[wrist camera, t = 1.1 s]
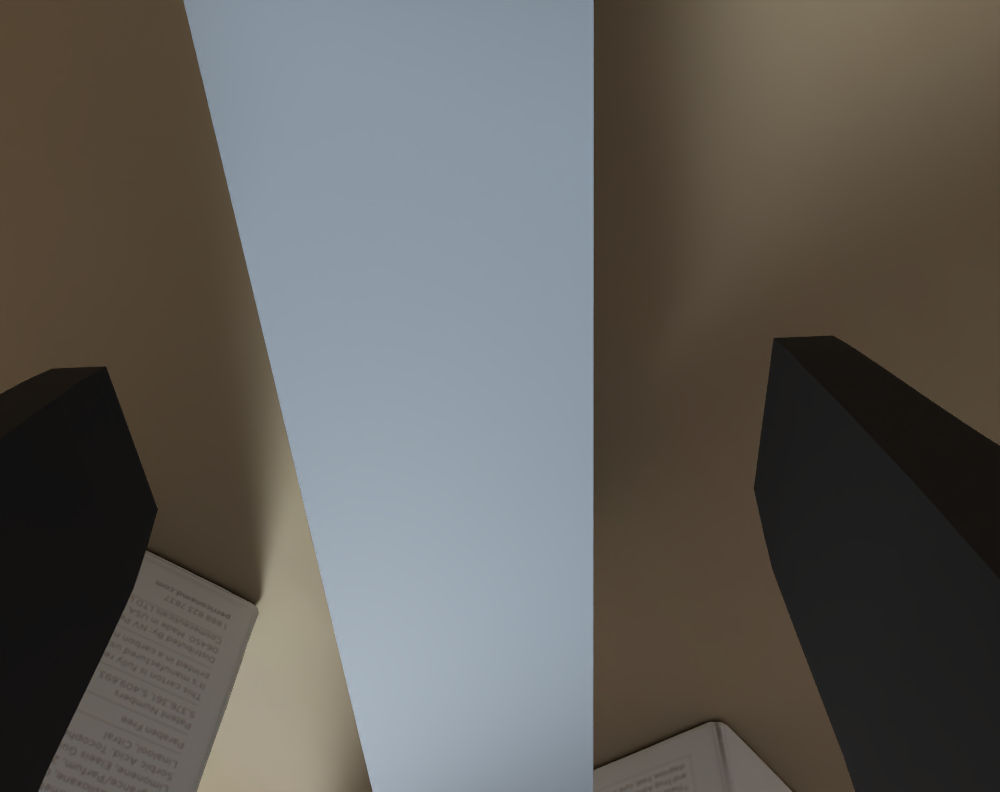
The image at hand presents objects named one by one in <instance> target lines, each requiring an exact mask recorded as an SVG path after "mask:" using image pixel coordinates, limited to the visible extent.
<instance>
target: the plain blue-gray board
mask: <svg viewBox="0 0 1000 792" xmlns="http://www.w3.org/2000/svg"><path fill="white" fill-rule="evenodd" d="M183 1H184V5H185V9H186V14H187V18H188V22H189V26H190V30H191V34H192V39H193V43H194V47H195V51H196V55H197V60H198V64H199V68H200V72H201V76H202V80H203V85H204V89H205V93H206V97H207V101H208V106H209V110H210V114H211V118H212V122H213V126H214V131H215V135H216V139H217V143H218V147H219V152H220V156H221V160H222V164H223V168H224V172H225V177H226V181H227V185H228V189H229V193H230V198H231V202H232V206H233V210H234V214H235V218H236V223H237V227H238V231H239V235H240V239H241V244H242V248H243V252H244V256H245V260H246V264H247V269H248V273H249V277H250V281H251V285H252V290H253V294H254V298H255V302H256V306H257V310H258V315H259V319H260V323H261V327H262V331H263V335H264V340H265V344H266V348H267V352H268V356H269V361H270V365H271V369H272V373H273V377H274V381H275V386H276V390H277V394H278V398H279V402H280V407H281V411H282V415H283V419H284V423H285V427H286V432H287V436H288V440H289V444H290V448H291V453H292V457H293V461H294V465H295V469H296V473H297V478H298V482H299V486H300V490H301V494H302V499H303V503H304V507H305V511H306V515H307V519H308V524H309V528H310V532H311V536H312V540H313V545H314V549H315V553H316V557H317V561H318V565H319V570H320V574H321V578H322V582H323V586H324V590H325V595H326V599H327V603H328V607H329V611H330V616H331V620H332V624H333V628H334V632H335V636H336V641H337V645H338V649H339V653H340V657H341V662H342V666H343V670H344V674H345V678H346V682H347V687H348V691H349V695H350V699H351V703H352V708H353V712H354V716H355V720H356V724H357V728H358V733H359V737H360V741H361V745H362V749H363V754H364V758H365V762H366V766H367V770H368V774H369V779H370V783H371V787H372V791H373V792H593V305H594V0H183Z"/></svg>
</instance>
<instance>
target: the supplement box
mask: <svg viewBox="0 0 1000 792" xmlns="http://www.w3.org/2000/svg"><path fill="white" fill-rule="evenodd" d="M593 792H792V791H791V790H790V789H789V788H788V787H787V786H786V785H785V784H784V782H783V781H782V780H781V779H780V778H779V777H778V776H777V775H776V774H775V773H774V772H773V771H772V770H771V769H770V768H769V767H768V766H767V765H766V764H765V763H764V762H763V761H762V760H761V759H760V758H759V757H758V756H757V755H756V754H755V753H754V752H753V751H752V750H751V749H750V748H749V747H748V746H747V745H746V744H745V743H744V742H743V741H742V740H741V739H740V738H739V737H738V736H737V735H736V734H735V733H734V732H733V731H732V730H731V729H730V728H729V727H728V726H727V725H725V724H724V723H722V722H708V723H706V724H703V725H701V726H698V727H696V728H693V729H691V730H688V731H686V732H684V733H681V734H679V735H677V736H674V737H672V738H670V739H667V740H665V741H663V742H660V743H658V744H655V745H653V746H651V747H648V748H646V749H644V750H641V751H639V752H636V753H634V754H632V755H629V756H627V757H624V758H622V759H619V760H617V761H615V762H612V763H610V764H607V765H605V766H602V767H600V768H597V769H595V770H593Z"/></svg>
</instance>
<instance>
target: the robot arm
mask: <svg viewBox="0 0 1000 792" xmlns="http://www.w3.org/2000/svg"><path fill="white" fill-rule="evenodd" d="M754 491H755V496H756V500H757V505H758V509H759V514H760V519H761V523H762V528H763V532H764V536H765V540H766V545H767V549H768V553H769V557H770V561H771V565H772V569H773V572H774V574H775V577H776V580H777V583H778V585H779V588H780V591H781V593H782V596H783V599H784V601H785V604H786V607H787V609H788V612H789V615H790V617H791V620H792V623H793V625H794V628H795V631H796V633H797V636H798V639H799V641H800V644H801V646H802V649H803V652H804V654H805V657H806V659H807V662H808V665H809V667H810V670H811V672H812V675H813V678H814V680H815V683H816V685H817V688H818V691H819V693H820V696H821V699H822V701H823V704H824V706H825V709H826V712H827V714H828V717H829V719H830V722H831V725H832V727H833V730H834V732H835V735H836V738H837V740H838V743H839V745H840V748H841V751H842V753H843V756H844V759H845V762H846V765H847V768H848V771H849V774H850V777H851V780H852V783H853V786H854V789H855V792H1000V446H999V445H997V444H996V443H994V442H993V441H991V440H990V439H988V438H986V437H985V436H983V435H982V434H980V433H979V432H977V431H976V430H974V429H973V428H971V427H970V426H968V425H967V424H965V423H964V422H962V421H961V420H959V419H958V418H956V417H954V416H953V415H951V414H950V413H948V412H947V411H945V410H944V409H943V408H941V407H940V406H938V405H937V404H935V403H934V402H932V401H931V400H929V399H928V398H926V397H925V396H923V395H922V394H920V393H919V392H918V391H916V390H915V389H913V388H912V387H910V386H909V385H907V384H906V383H904V382H903V381H902V380H900V379H899V378H897V377H896V376H894V375H893V374H891V373H890V372H888V371H887V370H886V369H884V368H883V367H881V366H880V365H878V364H877V363H875V362H874V361H872V360H871V359H869V358H868V357H866V356H865V355H863V354H862V353H860V352H859V351H857V350H856V349H854V348H853V347H851V346H850V345H848V344H846V343H845V342H843V341H841V340H839V339H838V338H836V337H834V336H812V337H789V338H774V340H773V348H772V355H771V363H770V371H769V378H768V386H767V393H766V401H765V408H764V416H763V424H762V431H761V439H760V446H759V454H758V461H757V469H756V477H755V484H754ZM157 510H158V509H157V506H156V503H155V501H154V498H153V495H152V492H151V490H150V487H149V484H148V481H147V479H146V476H145V473H144V470H143V468H142V465H141V462H140V459H139V456H138V454H137V451H136V448H135V445H134V443H133V440H132V437H131V434H130V432H129V429H128V426H127V423H126V421H125V418H124V415H123V412H122V409H121V407H120V404H119V401H118V398H117V396H116V393H115V390H114V387H113V385H112V382H111V379H110V376H109V374H108V371H107V368H106V367H83V368H59V369H50V370H48V371H46V372H44V373H41V374H39V375H37V376H35V377H32V378H30V379H28V380H26V381H24V382H22V383H20V384H18V385H17V386H15V387H13V388H11V389H9V390H7V391H5V392H4V393H2V394H0V792H38V791H39V789H40V786H41V784H42V782H43V779H44V777H45V775H46V773H47V770H48V768H49V766H50V764H51V762H52V760H53V758H54V756H55V754H56V752H57V749H58V747H59V745H60V743H61V741H62V739H63V737H64V735H65V733H66V731H67V729H68V727H69V724H70V722H71V720H72V718H73V716H74V714H75V712H76V710H77V708H78V706H79V704H80V702H81V699H82V697H83V695H84V693H85V691H86V689H87V687H88V685H89V683H90V681H91V679H92V677H93V675H94V672H95V670H96V668H97V666H98V664H99V662H100V660H101V658H102V656H103V654H104V652H105V649H106V647H107V645H108V643H109V641H110V639H111V637H112V635H113V632H114V630H115V628H116V626H117V624H118V622H119V620H120V617H121V615H122V613H123V611H124V609H125V607H126V604H127V602H128V600H129V598H130V595H131V593H132V591H133V589H134V586H135V583H136V580H137V577H138V574H139V571H140V568H141V565H142V561H143V558H144V555H145V552H146V549H147V545H148V542H149V538H150V535H151V531H152V527H153V524H154V520H155V517H156V513H157Z"/></svg>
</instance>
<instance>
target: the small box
mask: <svg viewBox="0 0 1000 792" xmlns="http://www.w3.org/2000/svg"><path fill="white" fill-rule="evenodd" d="M258 613H259V612H258V608H257V607H256V606H255V605H254V604H252V603H251V602H249V601H247V600H244V599H242V598H240V597H238V596H236V595H234V594H232V593H231V592H229V591H227V590H225V589H223V588H221V587H220V586H218V585H216V584H214V583H211V582H209V581H207V580H205V579H203V578H201V577H199V576H197V575H195V574H193V573H191V572H189V571H187V570H185V569H183V568H181V567H179V566H177V565H175V564H173V563H171V562H169V561H167V560H165V559H163V558H161V557H159V556H157V555H155V554H153V553H151V552H149V551H146V552H145V555H144V558H143V561H142V565H141V568H140V571H139V574H138V577H137V580H136V583H135V586H134V589H133V591H132V593H131V595H130V598H129V600H128V602H127V604H126V607H125V609H124V611H123V613H122V615H121V617H120V620H119V622H118V624H117V626H116V628H115V630H114V632H113V635H112V637H111V639H110V641H109V643H108V645H107V647H106V649H105V652H104V654H103V656H102V658H101V660H100V662H99V664H98V666H97V668H96V670H95V672H94V675H93V677H92V679H91V681H90V683H89V685H88V687H87V689H86V691H85V693H84V695H83V697H82V699H81V702H80V704H79V706H78V708H77V710H76V712H75V714H74V716H73V718H72V720H71V722H70V724H69V727H68V729H67V731H66V733H65V735H64V737H63V739H62V741H61V743H60V745H59V747H58V749H57V752H56V754H55V756H54V758H53V760H52V762H51V764H50V766H49V768H48V770H47V773H46V775H45V777H44V779H43V782H42V784H41V786H40V789H39V791H38V792H197V789H198V786H199V783H200V780H201V777H202V775H203V772H204V769H205V766H206V763H207V760H208V757H209V755H210V752H211V749H212V746H213V743H214V740H215V737H216V735H217V732H218V729H219V726H220V724H221V721H222V718H223V715H224V713H225V710H226V707H227V704H228V701H229V698H230V695H231V692H232V689H233V686H234V683H235V680H236V677H237V674H238V671H239V668H240V665H241V662H242V659H243V656H244V653H245V650H246V646H247V644H248V641H249V638H250V635H251V632H252V630H253V627H254V624H255V622H256V619H257V616H258Z"/></svg>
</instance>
